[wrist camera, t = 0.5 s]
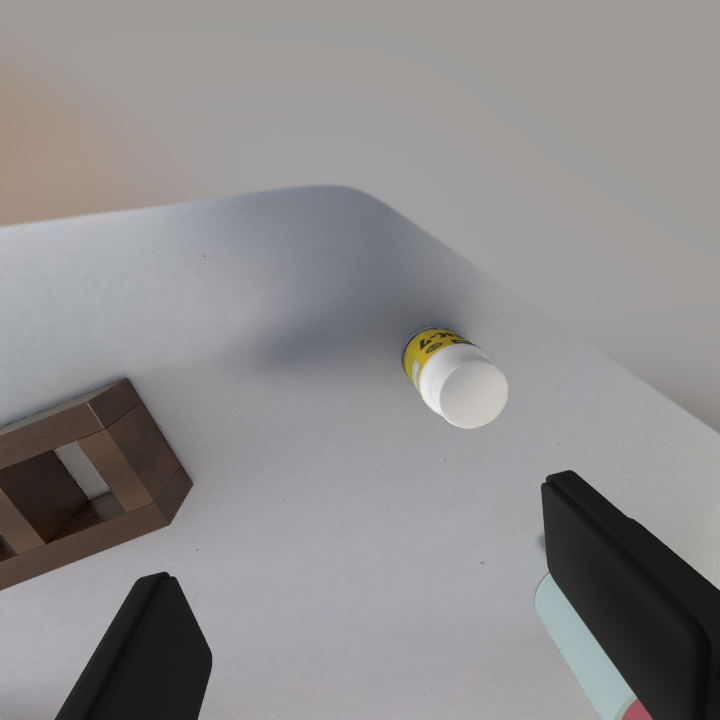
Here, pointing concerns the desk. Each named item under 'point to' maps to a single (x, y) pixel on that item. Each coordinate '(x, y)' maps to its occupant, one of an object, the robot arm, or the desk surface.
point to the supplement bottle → (454, 377)
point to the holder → (63, 496)
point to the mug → (586, 657)
